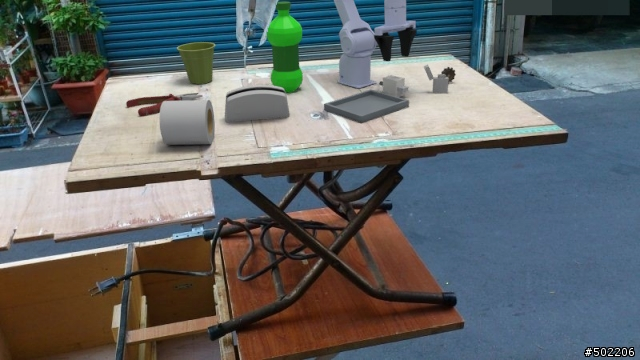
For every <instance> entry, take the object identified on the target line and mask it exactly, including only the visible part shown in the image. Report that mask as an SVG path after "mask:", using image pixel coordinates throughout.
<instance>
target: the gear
mask: <svg viewBox="0 0 640 360" xmlns="http://www.w3.org/2000/svg"><path fill="white" fill-rule="evenodd" d="M455 72H456V70H455V69H454V68H453V67H450V66H447V68H443V70H441V73H440V74H444V75H446V77H448V78H449V81H448V84H449V83H452V82H453V80H455V76H457V73H455Z"/></svg>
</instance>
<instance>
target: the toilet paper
mask: <svg viewBox="0 0 640 360" xmlns="http://www.w3.org/2000/svg"><path fill="white" fill-rule="evenodd" d="M215 122H216V121H215V112H214V107H213V104H212V101H211V100H210V99H196V100H195V99H193V100H186V101H164V102H163V103H162V105H161V108H160V112H159V130H160V135H161V136H160V137H161V139H162V141H163V143H164V145H166V146H182V145H183V146H185V145H188V146H189V145H212V144H213V143H214V139H215V130H216V129H215Z"/></svg>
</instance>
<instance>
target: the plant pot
mask: <svg viewBox="0 0 640 360" xmlns="http://www.w3.org/2000/svg"><path fill="white" fill-rule="evenodd" d="M215 47H216V44H215V43H214V42H208V41H207V42H206V41H205V42H204V41H203V42H202V41H200V42H199V41H198V42H190V43H185V44H181V45H179V46H177V47H176V50H177V51H178V53H179V55H180V57H181V59H182V63H183V65H184V69H185V72H186V74H187V79H188V81H189V83H191V85H192V84H196V85H203V84H208V83H209V82H212V81H213V76H214V75H213V74H214V73H213V71H214V69H213V67H214V65H213V64H214V54H215V53H214V52H215Z"/></svg>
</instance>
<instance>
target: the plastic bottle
mask: <svg viewBox="0 0 640 360" xmlns="http://www.w3.org/2000/svg"><path fill="white" fill-rule="evenodd" d="M291 6H292V5H291V1H283V0H282V1H277V5H276V4H275V10H276V11H277V16H275V18H273V20H272V21H271V22H270V23H269V24H270V26H269V28H268V27H267V29H268V32H267V31H266V38H267V42H268V43H269V44H270V45H271V53H272V65H273V66H272V71H271V74H270V81H271V84H272V86H278V87H282V88H284V90H285V92H286V93H292V92H295V91H296V90H297V89H298V88H299V87H300V86H301V85H302V83H303V80H304V79H303V78H304V77H303V76H304V75H303V74H304V73H303V71H302V69H301V67H300V56H299V55H300V52H299V49H300V48H299V44H300V43H301V41H302V40H303V39H302V38H303V27H302V25H301V23H300V22H299V21H297V20H296V19H295V18H294V17H292V16H291V15H290V10H291V8H292V7H291Z"/></svg>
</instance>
